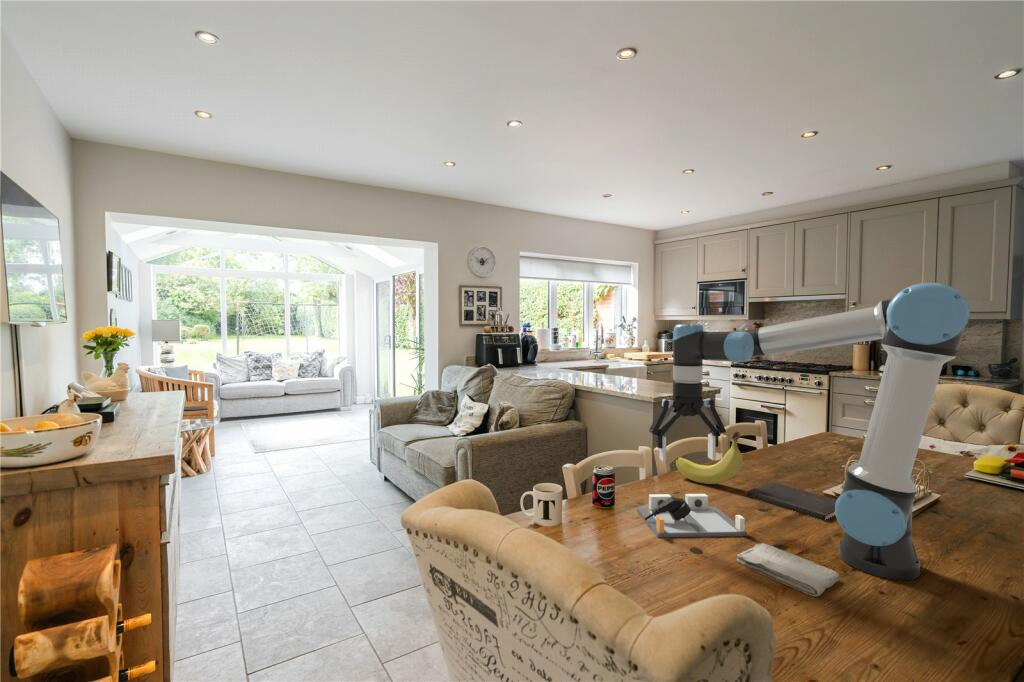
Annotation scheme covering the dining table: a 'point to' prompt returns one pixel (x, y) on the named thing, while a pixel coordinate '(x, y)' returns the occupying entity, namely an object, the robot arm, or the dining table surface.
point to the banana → (713, 466)
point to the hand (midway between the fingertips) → (687, 459)
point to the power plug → (673, 509)
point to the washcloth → (788, 569)
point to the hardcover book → (795, 500)
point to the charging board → (692, 519)
